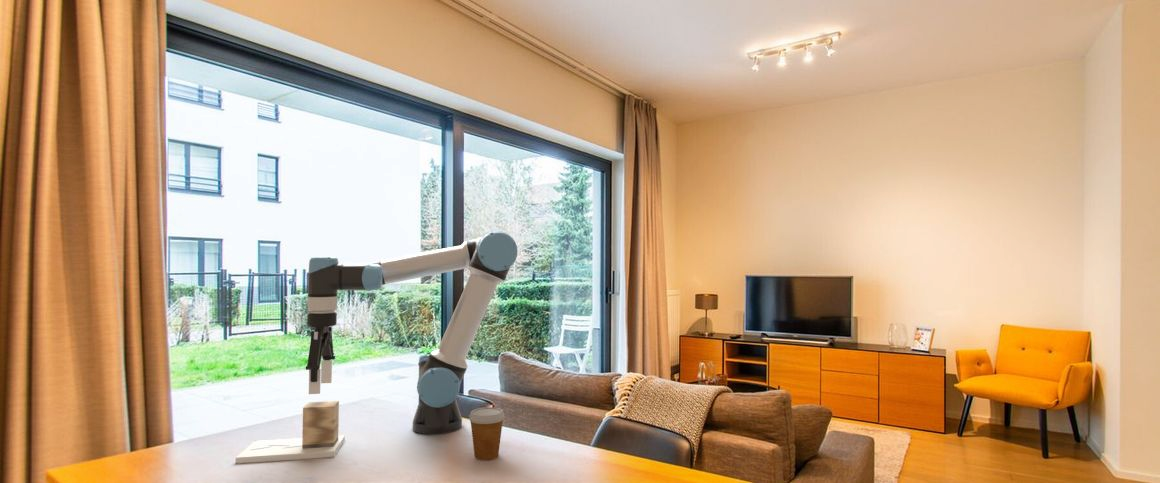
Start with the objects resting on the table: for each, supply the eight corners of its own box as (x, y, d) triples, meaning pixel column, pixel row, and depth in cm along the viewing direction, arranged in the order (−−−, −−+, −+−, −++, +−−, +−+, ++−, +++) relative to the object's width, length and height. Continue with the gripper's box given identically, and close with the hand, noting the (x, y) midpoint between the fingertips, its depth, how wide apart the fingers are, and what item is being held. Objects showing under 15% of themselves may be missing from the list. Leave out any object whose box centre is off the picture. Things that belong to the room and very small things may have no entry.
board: (344, 440, 167) (344, 435, 167) (334, 456, 153) (334, 451, 153) (254, 446, 162) (254, 440, 162) (235, 463, 148) (235, 457, 148)
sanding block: (338, 439, 163) (338, 400, 163) (333, 446, 157) (334, 406, 157) (308, 441, 161) (308, 402, 161) (302, 448, 155) (302, 407, 155)
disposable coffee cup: (510, 452, 156) (510, 408, 157) (494, 464, 147) (494, 417, 148) (479, 448, 159) (479, 405, 160) (461, 460, 150) (462, 414, 151)
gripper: (318, 308, 171) (317, 379, 171) (295, 316, 147) (293, 399, 146) (345, 308, 173) (343, 378, 172) (326, 315, 148) (324, 398, 148)
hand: (320, 388), depth 159 cm, fingers open, 13 cm apart
